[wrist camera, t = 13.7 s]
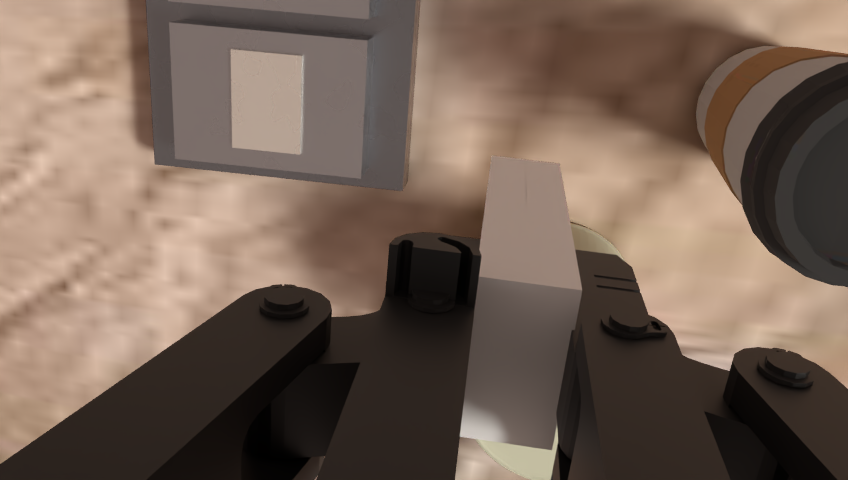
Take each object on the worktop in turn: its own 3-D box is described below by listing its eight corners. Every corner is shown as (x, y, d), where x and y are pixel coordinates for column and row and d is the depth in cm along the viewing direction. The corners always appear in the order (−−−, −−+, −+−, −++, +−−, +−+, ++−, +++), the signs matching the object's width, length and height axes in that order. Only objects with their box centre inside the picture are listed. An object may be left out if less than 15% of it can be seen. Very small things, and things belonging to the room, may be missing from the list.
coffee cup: (655, 168, 41) (726, 278, 27) (700, 10, 38) (806, 44, 24) (809, 197, 41) (961, 324, 27) (867, 40, 38) (1072, 91, 24)
